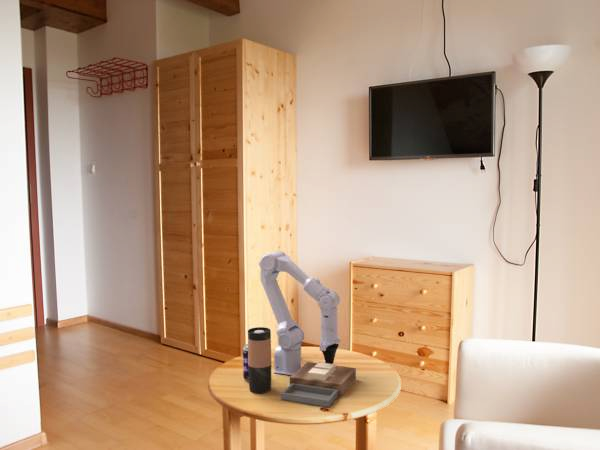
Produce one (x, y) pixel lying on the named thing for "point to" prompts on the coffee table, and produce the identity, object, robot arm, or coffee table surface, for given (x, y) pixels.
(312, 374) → the tile front
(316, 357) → the coffee table surface
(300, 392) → the box
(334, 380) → the brown wooden block
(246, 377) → the beverage can
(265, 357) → the travel mug
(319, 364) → the tile back
